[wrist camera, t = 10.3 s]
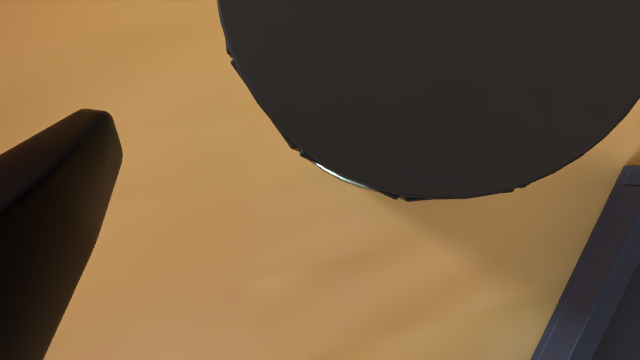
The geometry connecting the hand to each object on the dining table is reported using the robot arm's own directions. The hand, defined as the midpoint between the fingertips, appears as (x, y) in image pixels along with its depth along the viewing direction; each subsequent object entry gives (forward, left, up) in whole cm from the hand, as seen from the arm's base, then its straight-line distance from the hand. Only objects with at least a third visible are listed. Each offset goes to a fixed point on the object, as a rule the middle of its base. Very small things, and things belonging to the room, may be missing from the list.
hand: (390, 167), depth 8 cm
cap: (+2, +1, 0) cm, 2 cm away
